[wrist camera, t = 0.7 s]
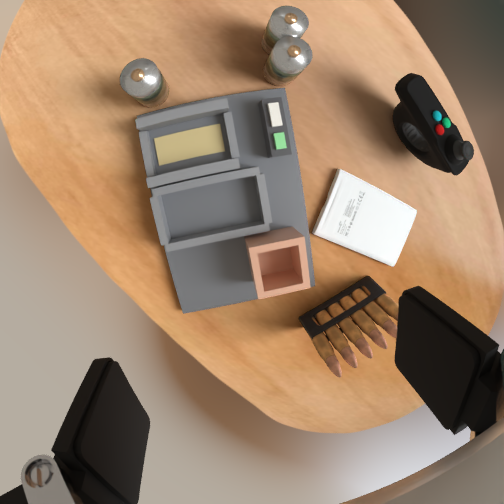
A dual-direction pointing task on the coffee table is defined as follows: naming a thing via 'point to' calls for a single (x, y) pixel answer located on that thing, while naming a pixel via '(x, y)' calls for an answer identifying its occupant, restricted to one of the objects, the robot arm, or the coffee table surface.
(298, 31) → the cell
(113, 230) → the coffee table surface
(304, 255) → the pink hollow box
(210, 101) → the board
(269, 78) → the cell
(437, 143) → the controller
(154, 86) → the cell
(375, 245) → the external hard drive
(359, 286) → the ammunition clip
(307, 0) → the coffee table surface
